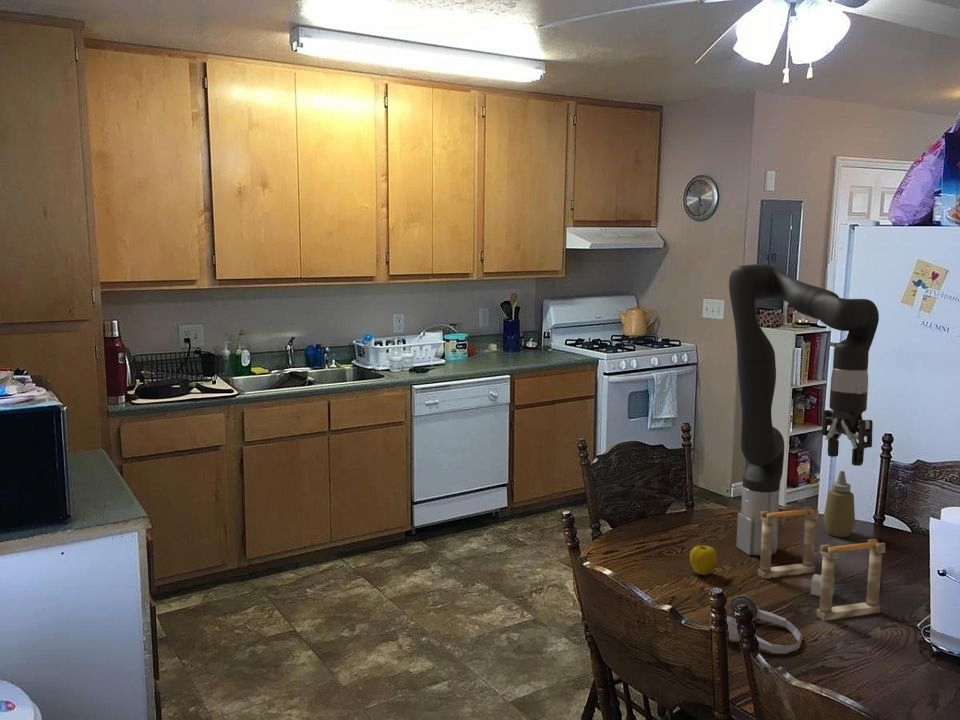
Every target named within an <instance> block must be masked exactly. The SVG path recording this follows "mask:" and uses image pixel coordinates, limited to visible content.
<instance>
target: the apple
mask: <svg viewBox="0 0 960 720" xmlns="http://www.w3.org/2000/svg"><path fill="white" fill-rule="evenodd" d="M717 554H718V553H717V550H715V549H714V548H713V547H712V546H710V545H704V544H703V545H702V544H698V545H696V546H694V547H693V548H692V549H691V551H690V552H689V562H690V564H691V567H692V570H693V572H695V573H696V574H697V575H703V576H707V575H709V574H710V573H712V571H713V570H714V569H716V565H717V560H718V555H717Z"/></svg>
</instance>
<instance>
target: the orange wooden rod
mask: <svg viewBox="0 0 960 720" xmlns="http://www.w3.org/2000/svg"><path fill="white" fill-rule="evenodd" d="M810 510H814V509H813V508H812V509H804V508H803V509H795V510H786V511H785V510H784V511H778V512H775V513H767V514H766V516H767V515H772V514H774V515H775V518H776V517H778V518H783V517H793V516H794V517H795V516H804V514H810Z"/></svg>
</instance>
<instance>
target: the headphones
mask: <svg viewBox="0 0 960 720" xmlns="http://www.w3.org/2000/svg"><path fill="white" fill-rule="evenodd" d="M723 590H724V591H723V592H727V594H725V596H727V595H729V594H730V592H728V591H727V590H726V589H723ZM726 601H727V602H729V600H728V599H727V600H726ZM740 604H745V605H748V606H750V607H751V608H752V610H753V612H754V619H755V618H758V620H762V621H766V622H769V623H772V624H775V625H779V626H782V627H785V628H786V629H787V630H788V631H789V632H790V633H791V634H792V635H793V636H794V638H795V639H796V640H797V642H796V643H794V644H791V645H790V644H789V645H780V644H772V643H770V642H769V641H766V640H765V639H763V638H761V637H758V635H755V636H756V637H757V640H758V642H759V646H760V648H759V649H762V650H765V651H768V652H770V653H772V654H786V655H787V654H789V653H792V652H794V651H797V650H798V649H799V648H800V647H801V644H802V640H803V637H802V634H801V632H800V630H799V629H798V628H797V626H795V625H794V624H792V623H791V621H789V620H787V618H785V617H783V616H779V615H777V614H776V613H773V612H770V611H766V610H761V609H759V608H758V606H757V604H756V602H755V601H754V599H752V598H751V597H750V596H748V595H745V594H741V595H740V594H739V595H736V596H734V597H733V598H732V600H731V602H730V610H731V613H732V614H733V615H734V610H735V608H736V607H737V606H738V605H740ZM726 616H727V624H728V631H729V640H731V641H732V640H733V641H735V640H736V641H738V642H740V640H739V634H738V630H737V623H736V619H737V618H736V617H734V616H730V615H726ZM735 618H736V619H735Z"/></svg>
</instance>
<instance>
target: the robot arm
mask: <svg viewBox="0 0 960 720" xmlns="http://www.w3.org/2000/svg"><path fill="white" fill-rule="evenodd" d="M728 290H729V298H730V303H731V309H732V315H733V320H734V328H735V329H734V330H735V339H736V342H735V343H736V360H737V374H738V383H739V384H738V385H739V396H740V404H741V405H740V406H741V435H740V448H741V449H740V450H741V453H742V455H743V457H744V458H745V460H746V466H745V470H744V472H743V475H742V487H741V488H742V489H741V490H742V491H741V512H738V513H737V523H736V546H737V548H738V549H739V550H741V551H742V552H744V553H746V554H747V555H748V556H758V557H759V556H760V557H761V539H762V520H760V516H761V512H763V511H769V513H775V512H779V509H780V508H779V507H780V506H779V505H780V488H781V481H782V477H783V471H784V470H783V469H784V458H785V441H784V437H783V434H782V432H781V431H779V429H777V428H776V427H774V426H773V419H772V418H773V417H772V406H773V400H774V395H775V390H776V381H777V368H776V354H775V353H776V352H775V350H774V347H773V345H772V343H771V341H770V340H769V338H768V337H767V335H766V334H765V332H764V331H763V329H762V328H761V326H760V324H759V321H758V317H757V311H756V301H764V300H767V299H773V300H780V301H783V302H786V303H787V304H788V305H789V306H790V307H791V308H792V309H793V310H795V311H796V312H797V313H800V314H802V315H803V316H807V317H809V318H813V319H815V320H819V321H820V322H821V323H823V324H824V325H826V326H828V327H829V328H832V329H833V330H837V331H840V332H841V331H842V332H848V333H847V335H846V337H845V339H844V340H843V341H840V342H837V343H836V344H835V345H834V349H833V359H832V372H831V376H830V377H831V378H830V390H829V405H828V406H829V408H830V409H825V410H824V411H823V415H822V425H821V426H822V427H821V435H822V436H825V437H826V440H827V456H828V457H831V458H834V457H835V458H836V457H838V456H839V447H840V440H839V439H840V437H841V436H842V435H844V436H846V438H847V439H848V440H849V441H850V443H851V445H852V447H853V448H852V451H851V454H852V455H851V465H852V466H854V467H855V466H857V467H859V466H862V465H863V464H864V458H865V456H864V455H865V453H864V452H865V449H867V448H872V447H873V427H874V426H873V420H872V419H863V413H864V412H866V411H867V407H868V394H869V393H868V390H869V372H868V371H869V370H868V369H869V357H870V355H869V351H870V348H871V346H872V344H873V341H874V339H875V335H876V332H877V329H878V325H879V322H880V316H879V315H880V314H879V310H878V307H877V305H876V303H875V302H874V301H872V300H871V299H868V298H842V297H840V296H839V295H838V294H837V293H835V292H834V291H832V290H829V289H826V288H822V287H819V286H817V285H816V286H815V285H812V284H810V283H806V282H804V281H801V280H798V279H796V278H794V277H792V276H790V275H788V274H786V273H784V272H782V271H780V270H778V269H777V268H776V267H773V266H772V265H769V264H765V263H756V264H745V265H744V264H743V265H738V266H735V267H734V268H733V269H732V271H731V272H730V274H729V280H728ZM828 426H829V428H828ZM865 437H866V441H865ZM778 524H779V517H776V518H775V523H773V530H772V550H771V556H772V555H775V554H776V553H777V549H778V530H779V529H778V528H779V525H778Z"/></svg>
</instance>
